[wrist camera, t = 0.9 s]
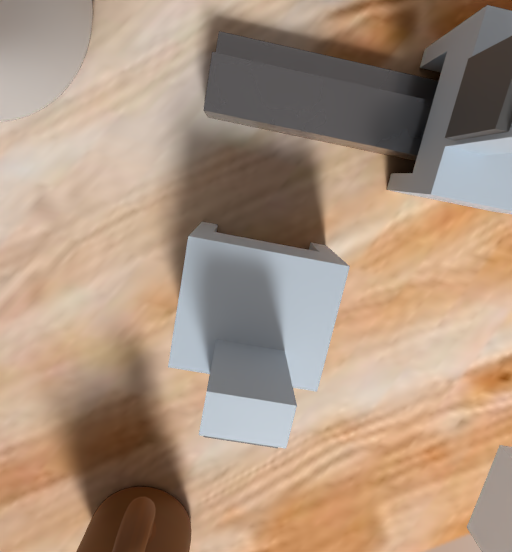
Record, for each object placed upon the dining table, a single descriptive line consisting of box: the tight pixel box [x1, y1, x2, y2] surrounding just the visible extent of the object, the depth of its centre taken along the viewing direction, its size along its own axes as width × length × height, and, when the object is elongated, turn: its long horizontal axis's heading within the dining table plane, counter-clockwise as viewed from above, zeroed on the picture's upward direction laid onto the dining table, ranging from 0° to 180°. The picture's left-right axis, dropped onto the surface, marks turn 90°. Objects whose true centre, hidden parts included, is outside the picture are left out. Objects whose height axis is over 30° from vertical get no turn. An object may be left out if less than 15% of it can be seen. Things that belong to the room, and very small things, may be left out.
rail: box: [204, 31, 439, 161], centre depth 22 cm, size 20×4×3 cm, turn 79°
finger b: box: [168, 222, 350, 448], centre depth 20 cm, size 8×8×11 cm
